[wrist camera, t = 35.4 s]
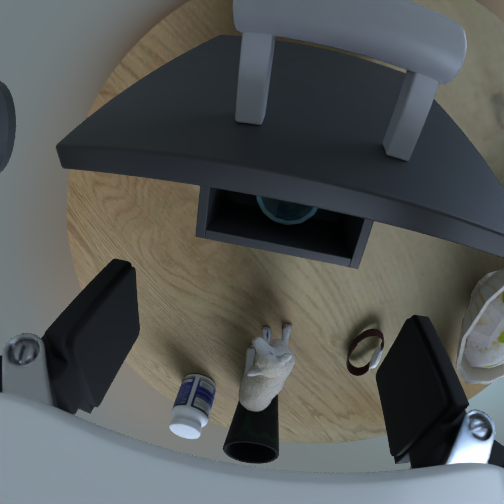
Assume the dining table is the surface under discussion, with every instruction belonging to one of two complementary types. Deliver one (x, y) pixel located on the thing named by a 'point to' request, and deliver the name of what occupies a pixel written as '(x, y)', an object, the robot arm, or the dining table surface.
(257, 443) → the cup
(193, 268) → the dining table surface
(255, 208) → the dark gray hinged chest
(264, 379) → the figurine
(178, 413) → the pill bottle
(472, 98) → the dining table surface
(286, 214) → the creamer cup
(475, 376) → the bowl
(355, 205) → the chest lid
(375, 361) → the watch
